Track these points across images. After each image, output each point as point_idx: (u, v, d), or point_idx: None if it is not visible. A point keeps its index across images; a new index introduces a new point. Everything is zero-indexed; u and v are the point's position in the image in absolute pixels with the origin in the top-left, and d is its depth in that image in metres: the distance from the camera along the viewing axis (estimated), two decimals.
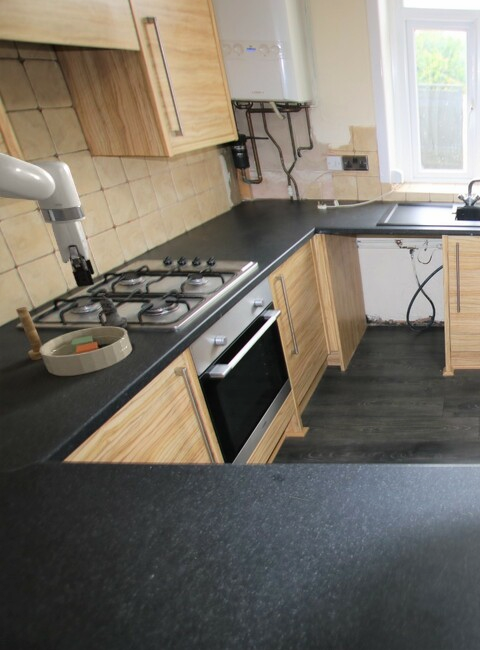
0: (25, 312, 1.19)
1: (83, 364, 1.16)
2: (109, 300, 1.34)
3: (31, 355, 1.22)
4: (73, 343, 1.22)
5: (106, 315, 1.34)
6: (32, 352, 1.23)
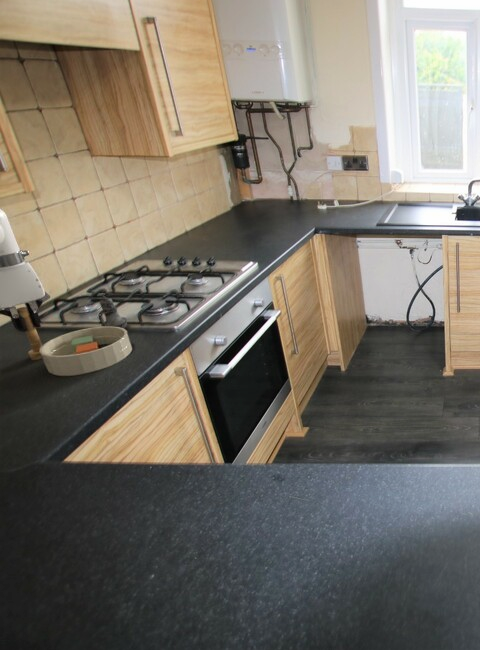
0: (25, 312, 1.19)
1: (83, 364, 1.16)
2: (109, 300, 1.34)
3: (31, 355, 1.22)
4: (73, 343, 1.22)
5: (106, 315, 1.34)
6: (32, 352, 1.23)
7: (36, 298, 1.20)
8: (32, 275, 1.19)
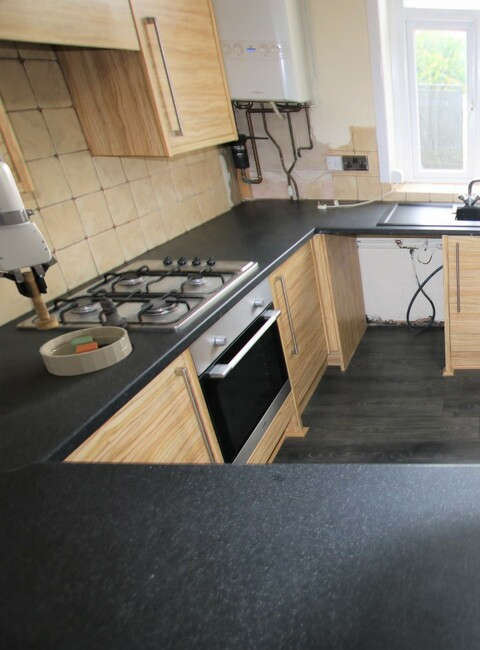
0: (30, 276, 1.11)
1: (83, 364, 1.16)
2: (109, 300, 1.34)
3: (37, 324, 1.14)
4: (73, 343, 1.22)
5: (106, 315, 1.34)
6: (38, 321, 1.14)
7: (42, 262, 1.11)
8: (38, 236, 1.10)
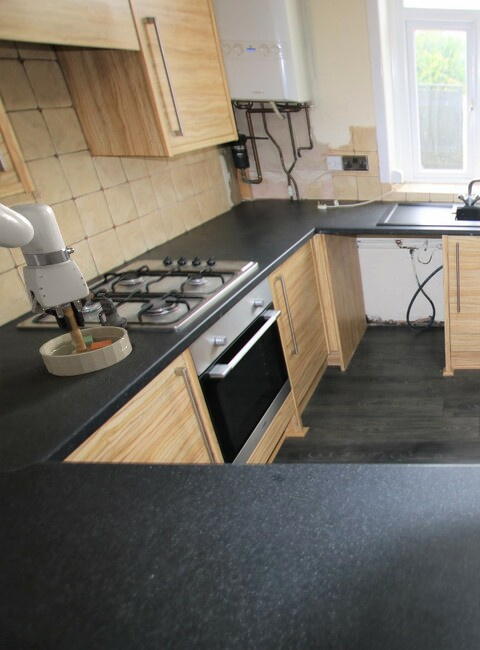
0: (70, 311, 1.16)
1: (83, 364, 1.16)
2: (109, 300, 1.34)
3: None
4: (73, 343, 1.22)
5: (106, 315, 1.34)
6: (75, 352, 1.19)
7: (81, 297, 1.17)
8: (77, 273, 1.15)
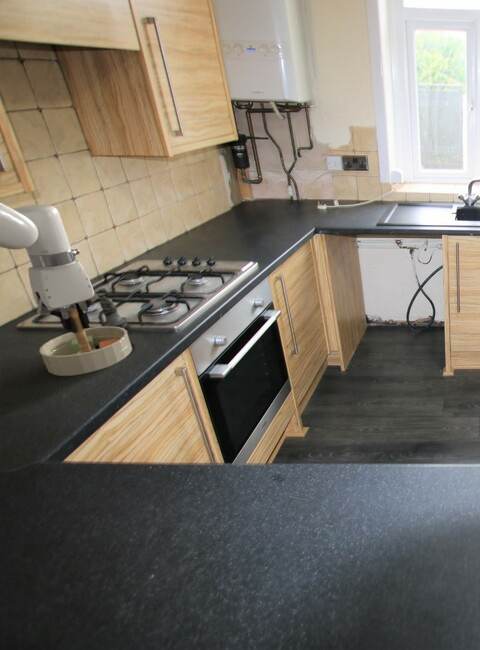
0: (75, 313, 1.16)
1: (83, 364, 1.16)
2: (109, 300, 1.34)
3: None
4: (73, 343, 1.22)
5: (106, 315, 1.34)
6: None
7: (86, 298, 1.17)
8: (83, 274, 1.15)
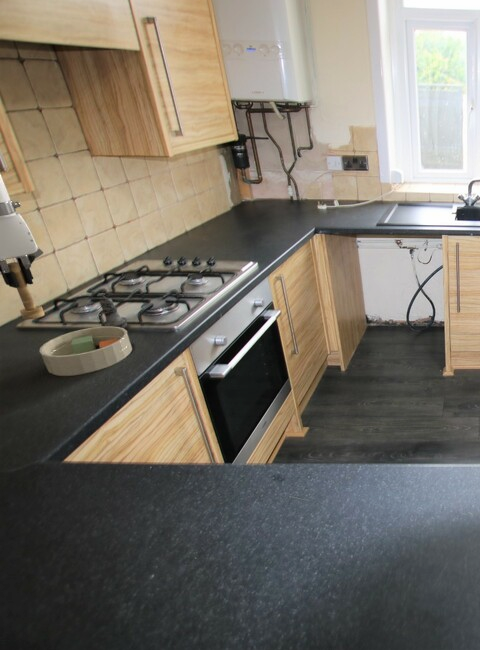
0: (17, 267, 1.13)
1: (83, 364, 1.16)
2: (109, 300, 1.34)
3: (23, 313, 1.16)
4: (73, 343, 1.22)
5: (106, 315, 1.34)
6: (24, 310, 1.17)
7: (28, 253, 1.14)
8: (24, 228, 1.12)
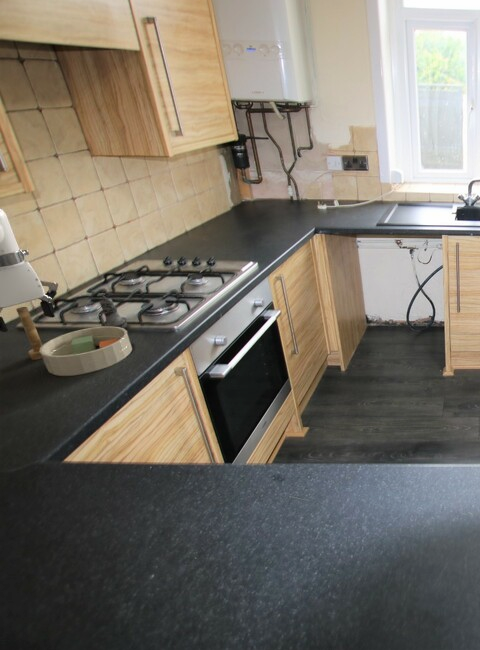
0: (25, 312, 1.20)
1: (83, 364, 1.16)
2: (109, 300, 1.34)
3: (31, 355, 1.23)
4: (73, 343, 1.22)
5: (106, 315, 1.34)
6: (32, 352, 1.23)
7: (36, 298, 1.20)
8: (32, 274, 1.18)
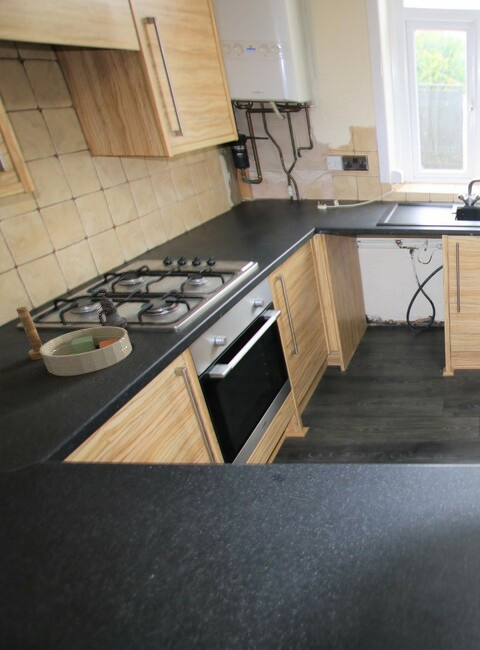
0: (25, 312, 1.20)
1: (83, 364, 1.16)
2: (109, 300, 1.34)
3: (31, 355, 1.23)
4: (73, 343, 1.22)
5: (106, 315, 1.34)
6: (32, 352, 1.23)
7: None
8: None
